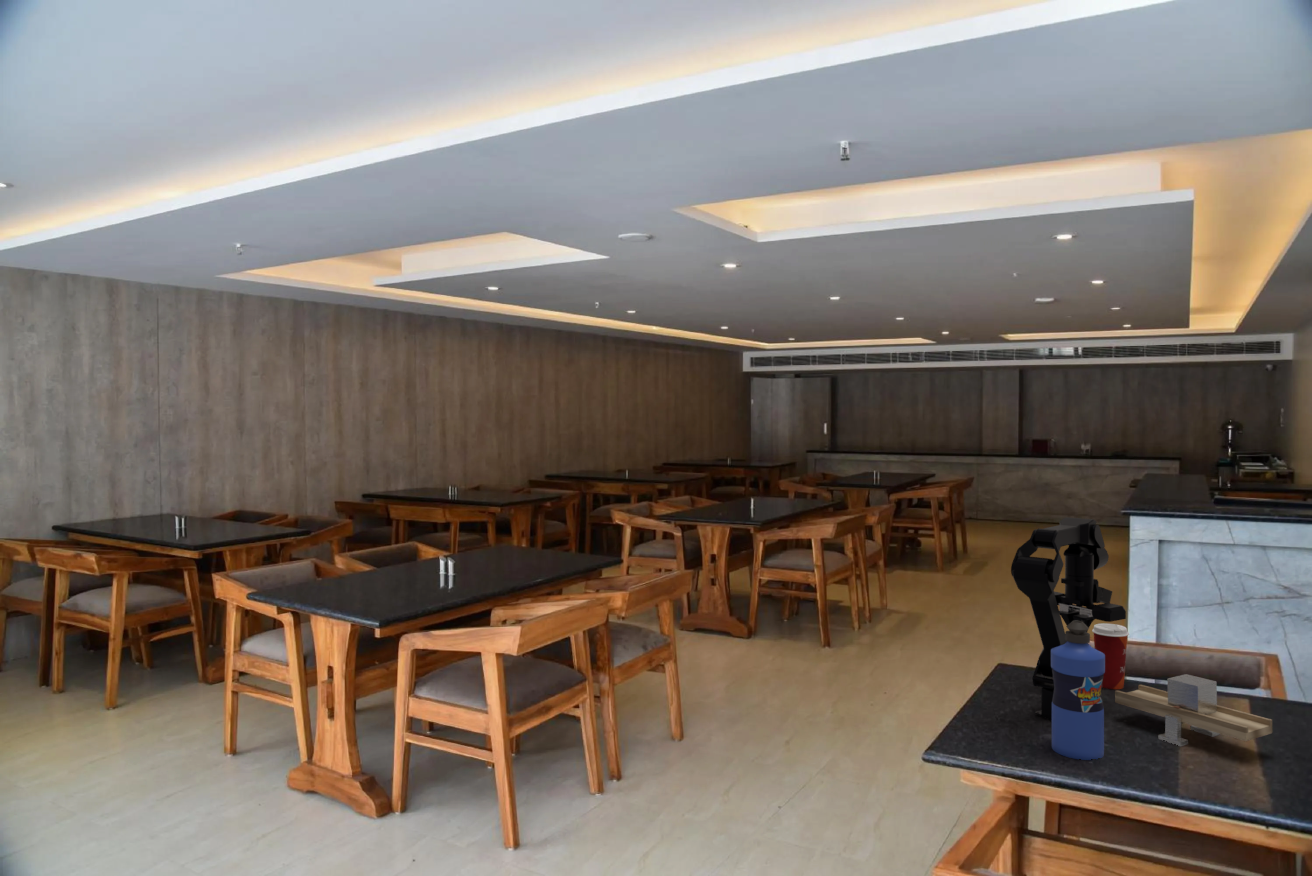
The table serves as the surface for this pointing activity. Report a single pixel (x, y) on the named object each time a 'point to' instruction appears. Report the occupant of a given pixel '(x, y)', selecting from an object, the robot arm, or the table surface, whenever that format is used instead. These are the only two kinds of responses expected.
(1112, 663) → the paper cup
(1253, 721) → the oak beam
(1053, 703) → the water bottle
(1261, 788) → the table surface
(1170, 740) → the pivot stand
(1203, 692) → the metal block
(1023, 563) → the robot arm
